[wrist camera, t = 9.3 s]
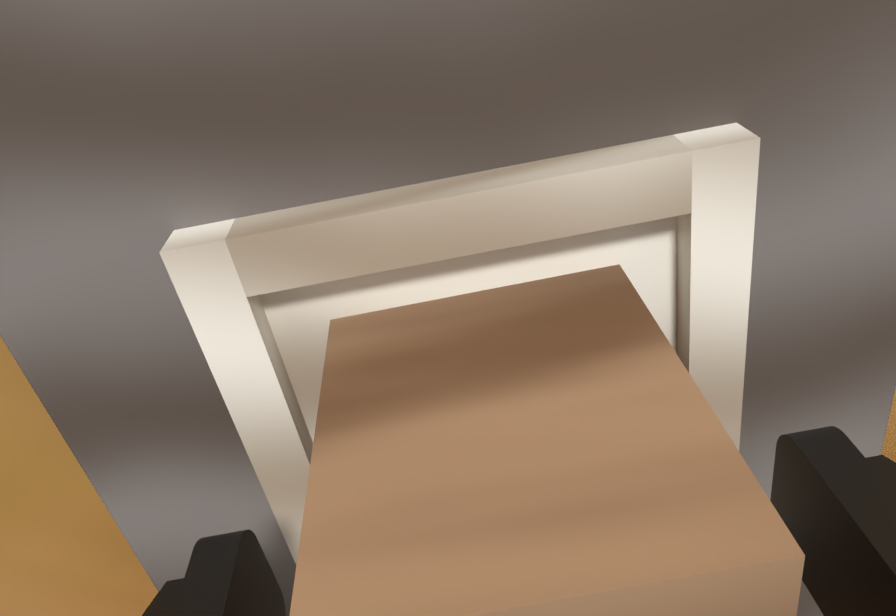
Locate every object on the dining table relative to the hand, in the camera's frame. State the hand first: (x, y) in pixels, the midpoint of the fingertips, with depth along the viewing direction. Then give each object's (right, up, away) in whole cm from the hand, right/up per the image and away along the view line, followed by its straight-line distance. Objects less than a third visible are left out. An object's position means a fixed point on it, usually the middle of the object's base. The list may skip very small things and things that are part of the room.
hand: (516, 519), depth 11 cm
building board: (0, +2, +3) cm, 4 cm away
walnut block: (0, +1, +2) cm, 3 cm away
